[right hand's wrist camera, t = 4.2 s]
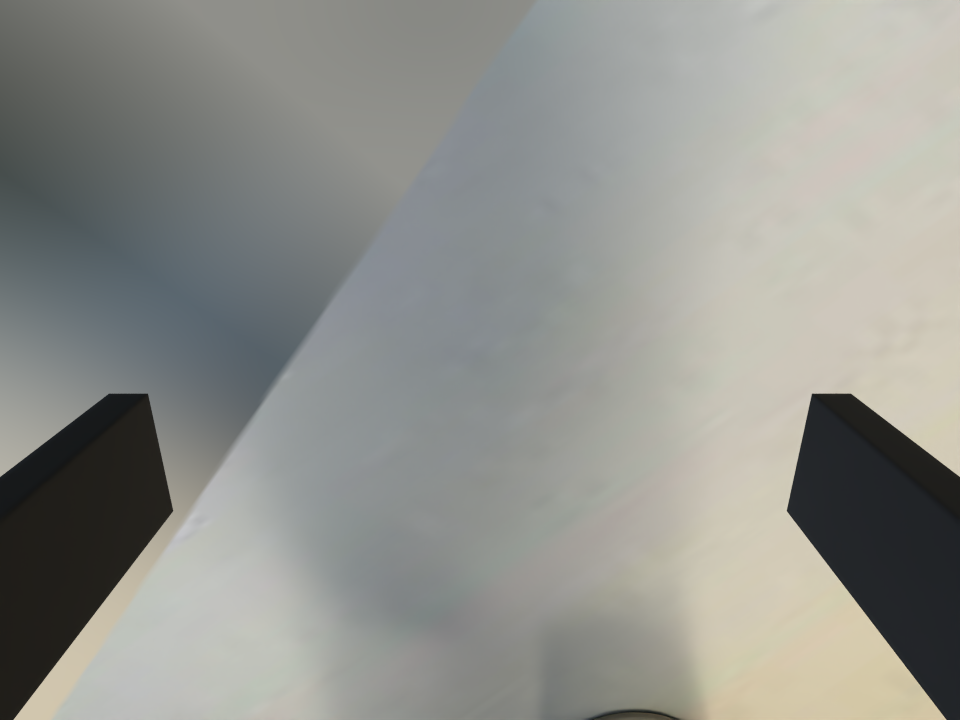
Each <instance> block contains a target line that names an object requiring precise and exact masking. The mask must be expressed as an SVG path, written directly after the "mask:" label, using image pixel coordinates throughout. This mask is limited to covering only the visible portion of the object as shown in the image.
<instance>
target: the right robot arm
mask: <svg viewBox="0 0 960 720" xmlns="http://www.w3.org/2000/svg"><path fill="white" fill-rule="evenodd" d="M172 512H173V508H172V503H171V499H170V494H169V489H168V485H167V480H166V475H165V471H164V466H163V462H162V457H161V452H160V448H159V443H158V438H157V434H156V429H155V425H154V420H153V415H152V411H151V406H150V401H149V397H148V394H108V395H107V396H106V397H104V398H103V399H102V400H100V401H99V402H98V403H96V404H95V405H94V406H92V407H91V408H90V409H89V410H87V411H86V412H85V413H83V414H82V415H81V416H79V417H78V418H77V419H75V420H74V421H73V422H72V423H70V424H69V425H68V426H66V427H65V428H64V429H62V430H61V431H60V432H59V433H57V434H56V435H55V436H53V437H52V438H51V439H49V440H48V441H47V442H45V443H44V444H43V445H41V446H40V447H39V448H38V449H36V450H35V451H34V452H32V453H31V454H30V455H28V456H27V457H26V458H24V459H23V460H22V461H21V462H19V463H18V464H17V465H15V466H14V467H13V468H11V469H10V470H9V471H8V472H6V473H5V474H4V475H2V476H1V477H0V720H14V718H15V717H16V716H17V714H18V713H19V712H20V710H21V709H22V708H23V706H24V705H25V704H26V703H27V701H28V700H29V699H30V697H31V696H32V695H33V693H34V692H35V691H36V689H37V688H38V687H39V686H40V684H41V683H42V682H43V680H44V679H45V678H46V676H47V675H48V674H49V672H50V671H51V670H52V669H53V667H54V666H55V665H56V663H57V662H58V661H59V659H60V658H61V657H62V655H63V654H64V653H65V651H66V650H67V649H68V648H69V646H70V645H71V644H72V642H73V641H74V640H75V638H76V637H77V636H78V635H79V633H80V632H81V631H82V629H83V628H84V627H85V625H86V624H87V623H88V621H89V620H90V619H91V618H92V616H93V615H94V614H95V612H96V611H97V610H98V608H99V607H100V606H101V604H102V603H103V602H104V601H105V599H106V598H107V597H108V595H109V594H110V593H111V591H112V590H113V589H114V588H115V586H116V585H117V584H118V582H119V581H120V580H121V578H122V577H123V576H124V574H125V573H126V572H127V571H128V569H129V568H130V567H131V565H132V564H133V563H134V561H135V560H136V559H137V558H138V556H139V555H140V554H141V552H142V551H143V550H144V548H145V547H146V546H147V544H148V543H149V542H150V541H151V539H152V538H153V537H154V535H155V534H156V533H157V531H158V530H159V529H160V527H161V526H162V525H163V523H164V522H165V521H166V520H167V518H168V517H169V516H170V514H171V513H172ZM787 512H788V513H789V514H790V516H791V517H792V518H793V520H794V521H795V522H796V524H797V525H798V526H799V527H800V529H801V530H802V531H803V533H804V534H805V535H806V537H807V538H808V539H809V541H810V542H811V543H812V544H813V546H814V547H815V548H816V550H817V551H818V552H819V554H820V555H821V556H822V558H823V559H824V560H825V561H826V563H827V564H828V565H829V567H830V568H831V569H832V571H833V572H834V573H835V575H836V576H837V577H838V578H839V580H840V581H841V582H842V584H843V585H844V586H845V588H846V589H847V590H848V591H849V593H850V594H851V595H852V597H853V598H854V599H855V601H856V602H857V603H858V605H859V606H860V607H861V608H862V610H863V611H864V612H865V614H866V615H867V616H868V618H869V619H870V620H871V622H872V623H873V624H874V625H875V627H876V628H877V629H878V631H879V632H880V633H881V635H882V636H883V637H884V639H885V640H886V641H887V642H888V644H889V645H890V646H891V648H892V649H893V650H894V652H895V653H896V654H897V656H898V657H899V658H900V659H901V661H902V662H903V663H904V665H905V666H906V667H907V669H908V670H909V671H910V672H911V674H912V675H913V676H914V678H915V679H916V680H917V682H918V683H919V684H920V686H921V687H922V688H923V689H924V691H925V692H926V693H927V695H928V696H929V697H930V699H931V700H932V701H933V703H934V704H935V705H936V706H937V708H938V709H939V710H940V712H941V713H942V714H943V716H944V717H945V718H946V720H960V477H959V476H958V475H956V474H955V473H954V472H952V471H951V470H950V469H949V468H947V467H946V466H945V465H943V464H942V463H941V462H939V461H938V460H937V459H936V458H934V457H933V456H932V455H930V454H929V453H928V452H926V451H925V450H924V449H922V448H921V447H920V446H919V445H917V444H916V443H915V442H913V441H912V440H911V439H909V438H908V437H907V436H905V435H904V434H903V433H902V432H900V431H899V430H898V429H896V428H895V427H894V426H892V425H891V424H890V423H888V422H887V421H886V420H885V419H883V418H882V417H881V416H879V415H878V414H877V413H875V412H874V411H873V410H871V409H870V408H869V407H868V406H866V405H865V404H864V403H862V402H861V401H860V400H858V399H857V398H856V397H854V396H853V395H852V394H812V397H811V401H810V406H809V411H808V415H807V420H806V424H805V429H804V434H803V438H802V443H801V448H800V452H799V457H798V462H797V466H796V471H795V475H794V480H793V485H792V489H791V494H790V499H789V503H788V508H787ZM594 720H675V719H672V718H669V717H666V716H662V715H658V714H652V713H641V712H630V713H618V714H612V715H607V716H604V717H600V718H597V719H594Z"/></svg>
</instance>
